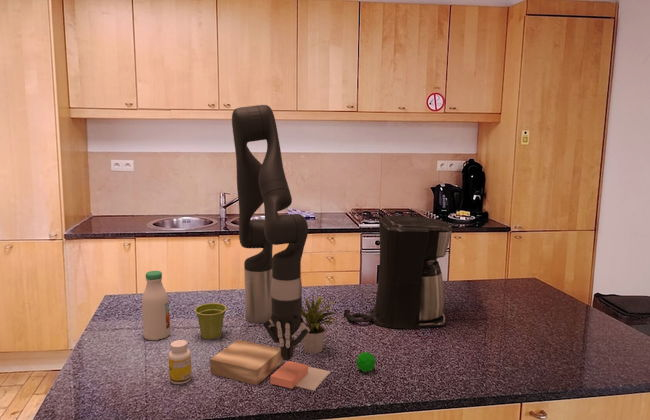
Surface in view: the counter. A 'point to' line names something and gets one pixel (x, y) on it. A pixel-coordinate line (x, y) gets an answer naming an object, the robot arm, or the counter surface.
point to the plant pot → (210, 319)
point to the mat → (312, 378)
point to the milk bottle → (155, 308)
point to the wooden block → (246, 362)
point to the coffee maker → (409, 273)
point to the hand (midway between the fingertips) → (287, 359)
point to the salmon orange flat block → (289, 374)
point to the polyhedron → (365, 362)
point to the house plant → (315, 325)
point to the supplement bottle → (180, 362)
